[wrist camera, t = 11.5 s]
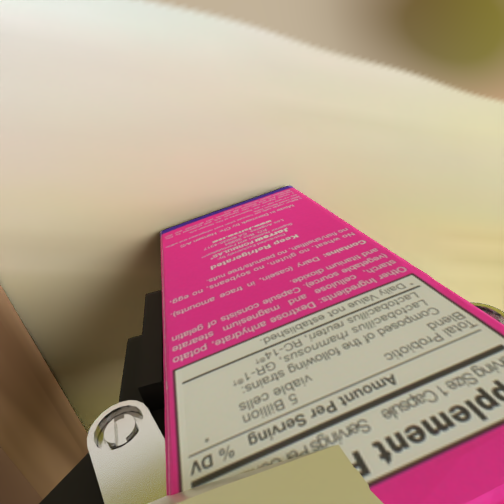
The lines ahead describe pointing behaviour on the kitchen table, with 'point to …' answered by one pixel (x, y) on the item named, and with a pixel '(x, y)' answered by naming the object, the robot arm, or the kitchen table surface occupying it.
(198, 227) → the supplement box
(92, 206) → the kitchen table surface
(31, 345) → the socket block
